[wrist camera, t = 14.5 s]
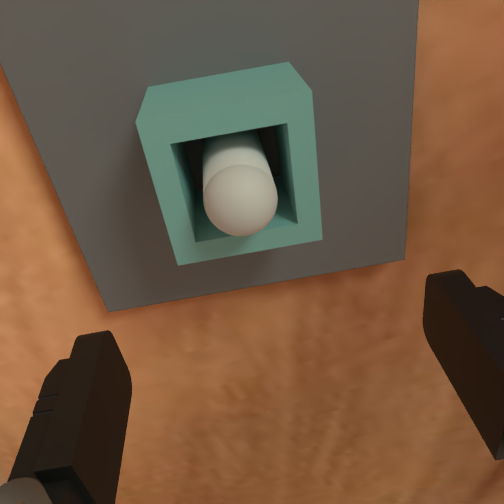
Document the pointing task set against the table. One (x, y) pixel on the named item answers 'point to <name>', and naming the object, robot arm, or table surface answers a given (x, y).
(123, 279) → the post plate
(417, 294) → the table surface
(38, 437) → the robot arm
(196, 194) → the collar
